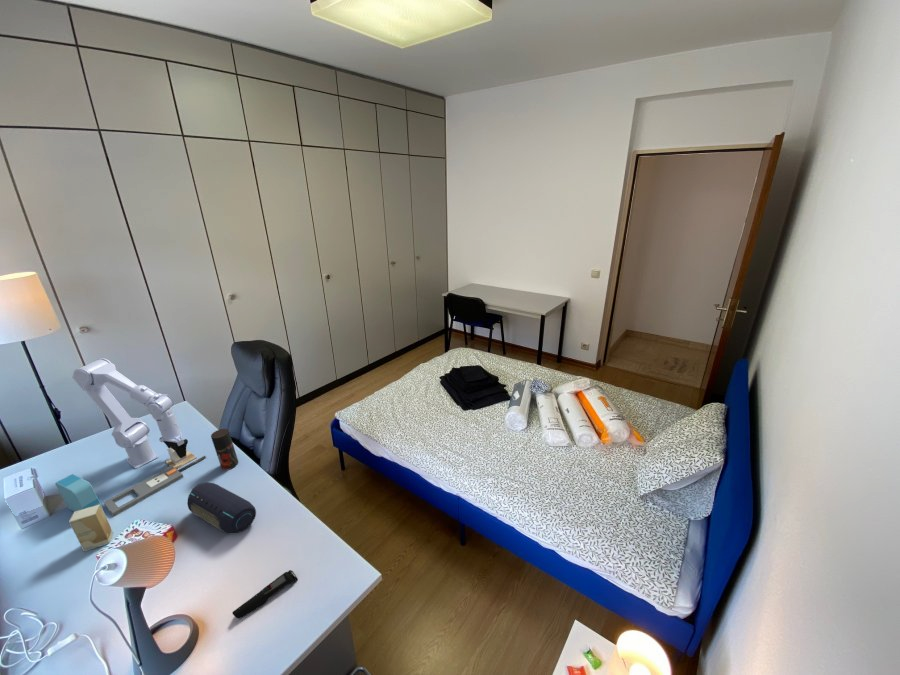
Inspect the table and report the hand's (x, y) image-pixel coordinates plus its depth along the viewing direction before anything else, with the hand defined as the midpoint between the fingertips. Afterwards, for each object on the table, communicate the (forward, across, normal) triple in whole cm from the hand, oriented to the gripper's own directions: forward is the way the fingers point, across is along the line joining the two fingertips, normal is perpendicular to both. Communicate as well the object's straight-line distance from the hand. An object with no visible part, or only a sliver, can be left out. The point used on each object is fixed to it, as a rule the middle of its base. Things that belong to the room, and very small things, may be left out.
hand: (178, 453), depth 145 cm
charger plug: (+3, 0, 0) cm, 3 cm away
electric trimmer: (+4, +81, -13) cm, 82 cm away
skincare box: (+4, +20, -31) cm, 37 cm away
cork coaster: (+3, 0, 0) cm, 3 cm away
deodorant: (+4, +20, +9) cm, 22 cm away
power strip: (+3, +7, -10) cm, 12 cm away
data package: (+4, -1, -29) cm, 29 cm away
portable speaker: (+4, +45, -6) cm, 45 cm away
